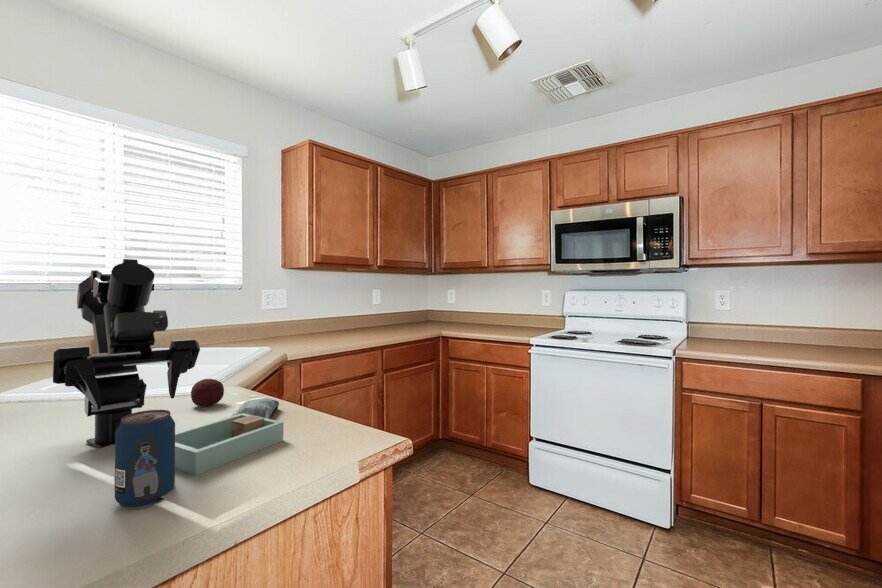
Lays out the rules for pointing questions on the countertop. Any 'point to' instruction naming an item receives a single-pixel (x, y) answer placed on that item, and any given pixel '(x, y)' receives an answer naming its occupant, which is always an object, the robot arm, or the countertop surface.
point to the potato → (207, 392)
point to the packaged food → (259, 408)
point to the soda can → (144, 458)
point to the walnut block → (246, 425)
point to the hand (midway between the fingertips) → (138, 402)
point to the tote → (221, 443)
